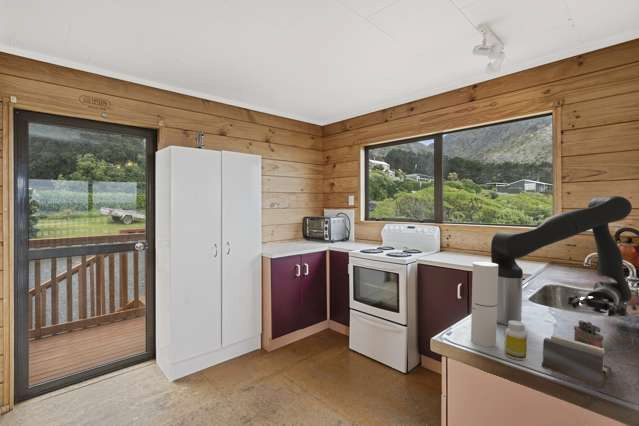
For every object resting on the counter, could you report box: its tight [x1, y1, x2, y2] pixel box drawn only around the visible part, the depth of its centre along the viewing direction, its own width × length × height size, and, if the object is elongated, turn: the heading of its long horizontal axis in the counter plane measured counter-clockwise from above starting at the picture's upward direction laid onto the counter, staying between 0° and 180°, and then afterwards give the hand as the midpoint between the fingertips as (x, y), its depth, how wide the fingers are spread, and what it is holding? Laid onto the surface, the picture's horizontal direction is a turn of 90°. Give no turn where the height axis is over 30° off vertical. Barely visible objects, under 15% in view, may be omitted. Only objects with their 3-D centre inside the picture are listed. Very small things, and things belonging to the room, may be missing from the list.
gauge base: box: [541, 337, 612, 388], centre depth 86 cm, size 12×12×8 cm
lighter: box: [573, 320, 604, 348], centre depth 92 cm, size 8×3×10 cm, turn 4°
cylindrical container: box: [470, 261, 498, 348], centre depth 101 cm, size 7×7×25 cm
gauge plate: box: [550, 334, 606, 374], centre depth 85 cm, size 2×12×6 cm, turn 40°
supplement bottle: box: [504, 320, 528, 361], centre depth 93 cm, size 5×5×10 cm
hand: (591, 309), depth 100 cm, fingers open, 8 cm apart
